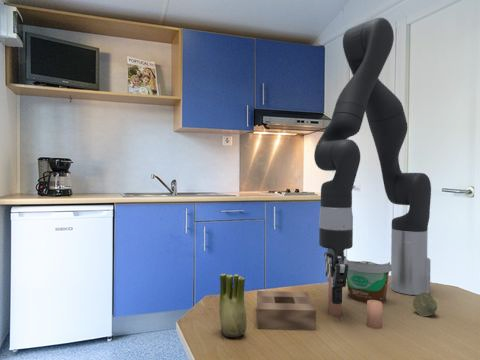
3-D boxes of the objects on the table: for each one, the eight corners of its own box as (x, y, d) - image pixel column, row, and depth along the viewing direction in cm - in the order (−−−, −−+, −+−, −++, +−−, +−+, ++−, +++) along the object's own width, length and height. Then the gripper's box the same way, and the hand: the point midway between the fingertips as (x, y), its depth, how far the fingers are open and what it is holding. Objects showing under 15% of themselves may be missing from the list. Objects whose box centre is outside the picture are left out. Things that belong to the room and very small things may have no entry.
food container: (338, 299, 92) (338, 261, 92) (343, 293, 98) (343, 256, 98) (389, 308, 86) (389, 267, 86) (391, 300, 92) (392, 262, 92)
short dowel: (378, 322, 78) (379, 299, 78) (383, 328, 75) (384, 304, 75) (365, 322, 78) (365, 299, 78) (369, 328, 75) (369, 304, 75)
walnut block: (306, 308, 86) (307, 292, 86) (315, 329, 74) (315, 310, 74) (257, 307, 86) (257, 290, 86) (257, 328, 74) (258, 309, 74)
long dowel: (339, 311, 84) (340, 269, 84) (343, 316, 81) (343, 272, 81) (327, 311, 84) (327, 269, 84) (329, 316, 81) (330, 272, 81)
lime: (439, 319, 80) (439, 297, 80) (416, 317, 81) (416, 295, 81) (433, 312, 84) (433, 291, 84) (411, 310, 85) (411, 289, 85)
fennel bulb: (215, 331, 73) (216, 272, 73) (237, 326, 75) (237, 269, 75) (228, 342, 68) (229, 279, 68) (250, 337, 70) (251, 276, 70)
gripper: (361, 231, 75) (360, 312, 75) (344, 222, 89) (343, 291, 89) (325, 230, 76) (324, 311, 76) (314, 222, 90) (313, 290, 90)
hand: (335, 300), depth 82 cm, fingers closed on long dowel, 3 cm apart
